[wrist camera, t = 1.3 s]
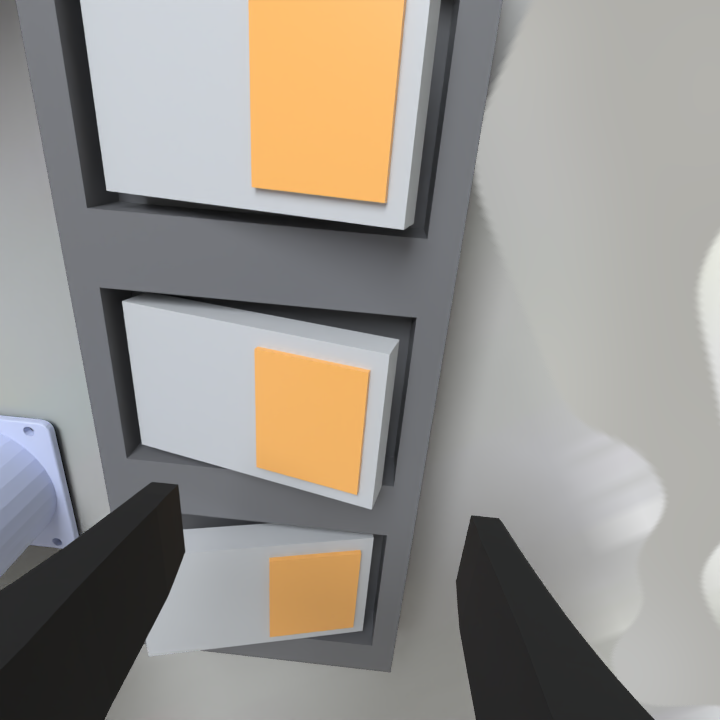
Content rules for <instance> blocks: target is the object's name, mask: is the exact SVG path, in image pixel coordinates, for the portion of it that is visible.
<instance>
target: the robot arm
mask: <svg viewBox="0 0 720 720" xmlns="http://www.w3.org/2000/svg"><path fill="white" fill-rule="evenodd" d="M30 428H32V429H33V430H34V431H33V430H31V429H30ZM29 545H35V546H44V547H53V548H62V549H61V550H60V551H58V552H57V553H56V554H54V555H53V556H51V557H50V558H48V559H47V560H45V561H44V562H42V563H41V564H39V565H38V566H37V567H35V568H34V569H32V570H31V571H29V572H28V573H26V574H25V575H23V576H22V577H21V578H19V579H18V580H16V581H15V582H13V583H12V584H10V585H9V586H7V587H5V588H4V589H2V590H1V591H0V720H105V717H106V715H107V713H108V711H109V709H110V707H111V705H112V703H113V701H114V699H115V697H116V695H117V693H118V692H119V690H120V688H121V686H122V684H123V682H124V680H125V678H126V676H127V674H128V673H129V671H130V669H131V667H132V665H133V663H134V661H135V659H136V657H137V655H138V654H139V652H140V650H141V648H142V646H143V644H144V642H145V640H146V638H147V637H148V635H149V633H150V631H151V629H152V627H153V625H154V623H155V621H156V619H157V617H158V615H159V613H160V611H161V610H162V608H163V606H164V604H165V602H166V600H167V598H168V596H169V593H170V591H171V588H172V586H173V583H174V581H175V578H176V576H177V573H178V570H179V568H180V565H181V562H182V559H183V557H184V554H185V543H184V533H183V524H182V514H181V504H180V495H179V485H178V484H169V483H159V482H151V483H150V484H148V485H147V486H145V487H144V488H143V489H141V490H140V491H139V492H137V493H136V494H135V495H134V496H132V497H131V498H130V499H128V500H127V501H126V502H124V503H123V504H122V505H120V506H119V507H118V508H116V509H115V510H114V511H113V512H111V513H110V514H109V515H107V516H106V517H105V518H103V519H102V520H101V521H99V522H98V523H97V524H95V525H94V526H93V527H91V528H90V529H89V530H87V531H86V532H85V533H83V534H82V535H80V536H79V535H78V530H77V526H76V521H75V517H74V513H73V508H72V504H71V500H70V495H69V491H68V487H67V482H66V478H65V473H64V469H63V465H62V460H61V456H60V452H59V447H58V443H57V439H56V434H55V430H54V427H53V426H52V424H51V423H49V422H48V421H45V420H41V419H31V418H22V417H12V416H2V415H0V577H1V576H2V575H3V574H4V573H5V572H6V570H7V569H8V568H9V567H10V566H11V565H12V564H13V563H14V562H15V561H16V559H17V558H18V557H19V556H20V555H21V554H22V553H23V552H24V551H25V549H26V548H27V547H28V546H29ZM456 587H457V602H458V615H459V628H460V634H461V640H462V645H463V651H464V657H465V662H466V668H467V673H468V679H469V684H470V689H471V695H472V700H473V706H474V711H475V716H476V720H654V719H653V718H652V717H651V715H650V714H649V713H648V712H647V711H646V710H645V709H644V708H643V707H642V706H641V705H640V704H639V703H638V701H637V700H636V699H635V698H634V697H633V696H632V695H631V694H630V693H629V691H628V690H627V689H626V688H625V687H624V686H623V685H622V684H621V682H620V681H619V680H618V679H617V678H616V677H615V676H614V674H613V673H612V672H611V671H610V670H609V669H608V667H607V666H606V665H605V664H604V663H603V661H602V660H601V659H600V658H599V657H598V655H597V654H596V653H595V652H594V650H593V649H592V648H591V647H590V645H589V644H588V643H587V642H586V640H585V639H584V638H583V637H582V635H581V634H580V633H579V632H578V630H577V629H576V628H575V626H574V625H573V624H572V623H571V621H570V620H569V619H568V617H567V616H566V615H565V613H564V612H563V611H562V609H561V608H560V607H559V605H558V604H557V602H556V601H555V600H554V598H553V597H552V595H551V594H550V593H549V591H548V590H547V589H546V587H545V586H544V584H543V583H542V582H541V580H540V579H539V577H538V576H537V574H536V573H535V572H534V570H533V569H532V567H531V566H530V564H529V563H528V561H527V560H526V558H525V557H524V555H523V554H522V552H521V551H520V549H519V548H518V546H517V545H516V543H515V541H514V540H513V538H512V537H511V535H510V534H509V532H508V531H507V529H506V528H505V526H504V524H503V523H502V522H501V520H500V519H499V518H490V517H481V516H471V519H470V523H469V527H468V532H467V536H466V540H465V545H464V549H463V553H462V558H461V562H460V566H459V571H458V575H457V579H456Z"/></svg>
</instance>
